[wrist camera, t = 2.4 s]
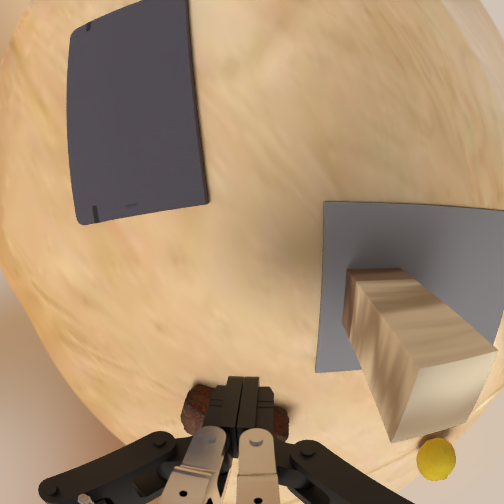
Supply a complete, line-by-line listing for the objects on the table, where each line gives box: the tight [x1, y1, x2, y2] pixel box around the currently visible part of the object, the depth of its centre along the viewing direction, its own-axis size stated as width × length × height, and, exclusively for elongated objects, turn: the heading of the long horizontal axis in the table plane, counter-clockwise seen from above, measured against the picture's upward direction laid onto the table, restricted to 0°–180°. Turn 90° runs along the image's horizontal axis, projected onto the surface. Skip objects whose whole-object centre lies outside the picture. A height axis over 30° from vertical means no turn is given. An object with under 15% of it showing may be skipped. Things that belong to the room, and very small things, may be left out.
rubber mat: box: [315, 202, 504, 373], centre depth 23 cm, size 16×23×1 cm
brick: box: [181, 385, 289, 442], centre depth 26 cm, size 11×4×5 cm, turn 72°
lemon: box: [417, 438, 456, 481], centre depth 25 cm, size 6×6×8 cm
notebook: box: [67, 0, 209, 225], centre depth 21 cm, size 13×2×21 cm
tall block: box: [342, 268, 498, 443], centre depth 17 cm, size 5×5×14 cm
